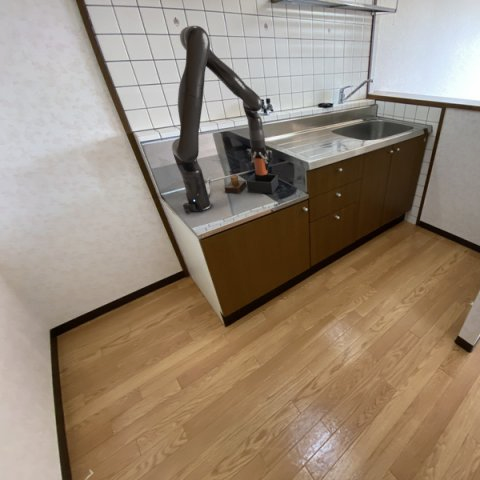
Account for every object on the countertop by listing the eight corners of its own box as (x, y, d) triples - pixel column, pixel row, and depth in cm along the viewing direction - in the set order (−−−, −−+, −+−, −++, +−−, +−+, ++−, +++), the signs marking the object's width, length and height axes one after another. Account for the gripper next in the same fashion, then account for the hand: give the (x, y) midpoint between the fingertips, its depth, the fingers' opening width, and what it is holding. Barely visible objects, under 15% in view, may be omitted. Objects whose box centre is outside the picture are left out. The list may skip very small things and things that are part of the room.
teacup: (198, 202, 141) (193, 188, 136) (186, 197, 146) (182, 183, 142) (220, 193, 150) (217, 179, 145) (209, 188, 155) (205, 175, 151)
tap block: (239, 193, 150) (238, 188, 148) (225, 192, 151) (224, 187, 149) (246, 185, 159) (245, 180, 157) (233, 184, 160) (232, 179, 158)
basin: (272, 193, 149) (271, 182, 146) (248, 191, 151) (246, 181, 148) (278, 185, 159) (277, 174, 155) (255, 183, 161) (254, 173, 157)
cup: (265, 175, 147) (263, 159, 141) (254, 174, 148) (251, 158, 142) (269, 171, 152) (267, 155, 147) (258, 170, 153) (256, 154, 147)
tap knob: (237, 185, 151) (235, 177, 148) (230, 185, 152) (228, 176, 149) (240, 182, 154) (238, 174, 152) (233, 182, 155) (231, 174, 152)
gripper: (240, 139, 137) (246, 170, 146) (267, 140, 135) (271, 172, 144) (246, 135, 143) (251, 166, 152) (272, 136, 141) (275, 167, 150)
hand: (261, 169), depth 148 cm, fingers closed on cup, 6 cm apart
